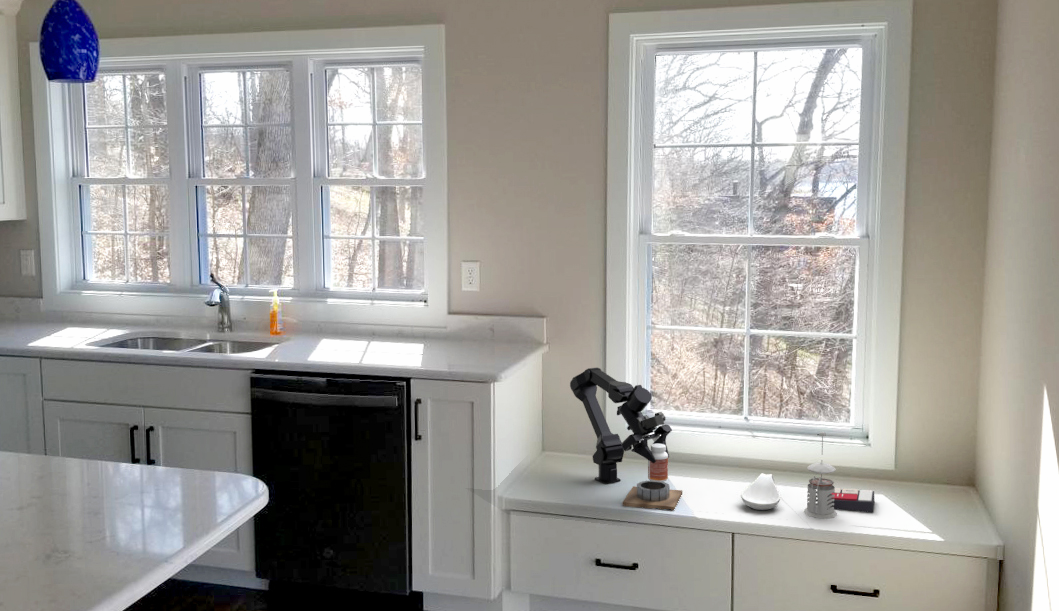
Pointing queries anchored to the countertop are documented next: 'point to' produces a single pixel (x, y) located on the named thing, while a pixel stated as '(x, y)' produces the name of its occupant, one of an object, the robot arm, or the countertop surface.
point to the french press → (820, 491)
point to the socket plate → (666, 504)
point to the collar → (653, 491)
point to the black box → (853, 500)
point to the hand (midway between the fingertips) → (661, 460)
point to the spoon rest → (761, 493)
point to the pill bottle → (658, 464)
